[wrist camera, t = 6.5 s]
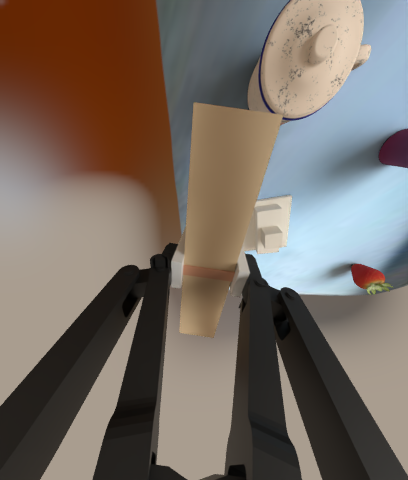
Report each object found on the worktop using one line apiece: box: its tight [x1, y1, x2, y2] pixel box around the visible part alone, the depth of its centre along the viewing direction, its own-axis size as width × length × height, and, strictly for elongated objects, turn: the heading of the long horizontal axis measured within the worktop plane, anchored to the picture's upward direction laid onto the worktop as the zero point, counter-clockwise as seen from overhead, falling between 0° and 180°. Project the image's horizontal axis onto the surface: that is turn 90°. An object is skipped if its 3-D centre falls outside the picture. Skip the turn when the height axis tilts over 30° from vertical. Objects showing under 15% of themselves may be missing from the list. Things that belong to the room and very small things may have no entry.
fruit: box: [351, 264, 393, 294], centre depth 34 cm, size 5×5×8 cm
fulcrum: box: [243, 195, 292, 254], centre depth 30 cm, size 12×10×7 cm
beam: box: [180, 102, 283, 338], centre depth 14 cm, size 4×20×6 cm, turn 173°
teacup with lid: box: [248, 0, 371, 125], centre depth 17 cm, size 12×9×12 cm
